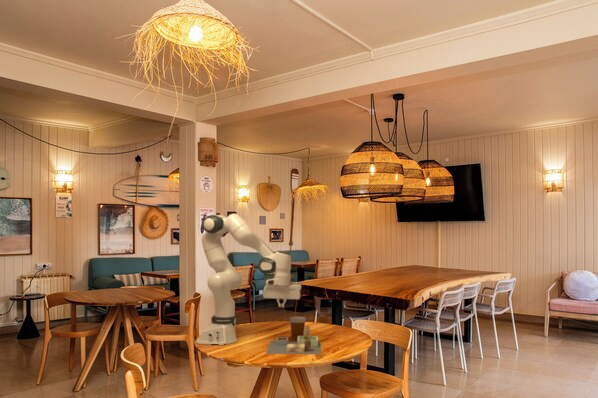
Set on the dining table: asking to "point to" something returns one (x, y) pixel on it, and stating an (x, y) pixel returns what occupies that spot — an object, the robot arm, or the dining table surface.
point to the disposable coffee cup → (297, 326)
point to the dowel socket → (281, 341)
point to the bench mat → (283, 350)
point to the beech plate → (295, 347)
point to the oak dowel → (307, 332)
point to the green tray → (313, 339)
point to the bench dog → (307, 345)
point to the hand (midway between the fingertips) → (281, 307)
